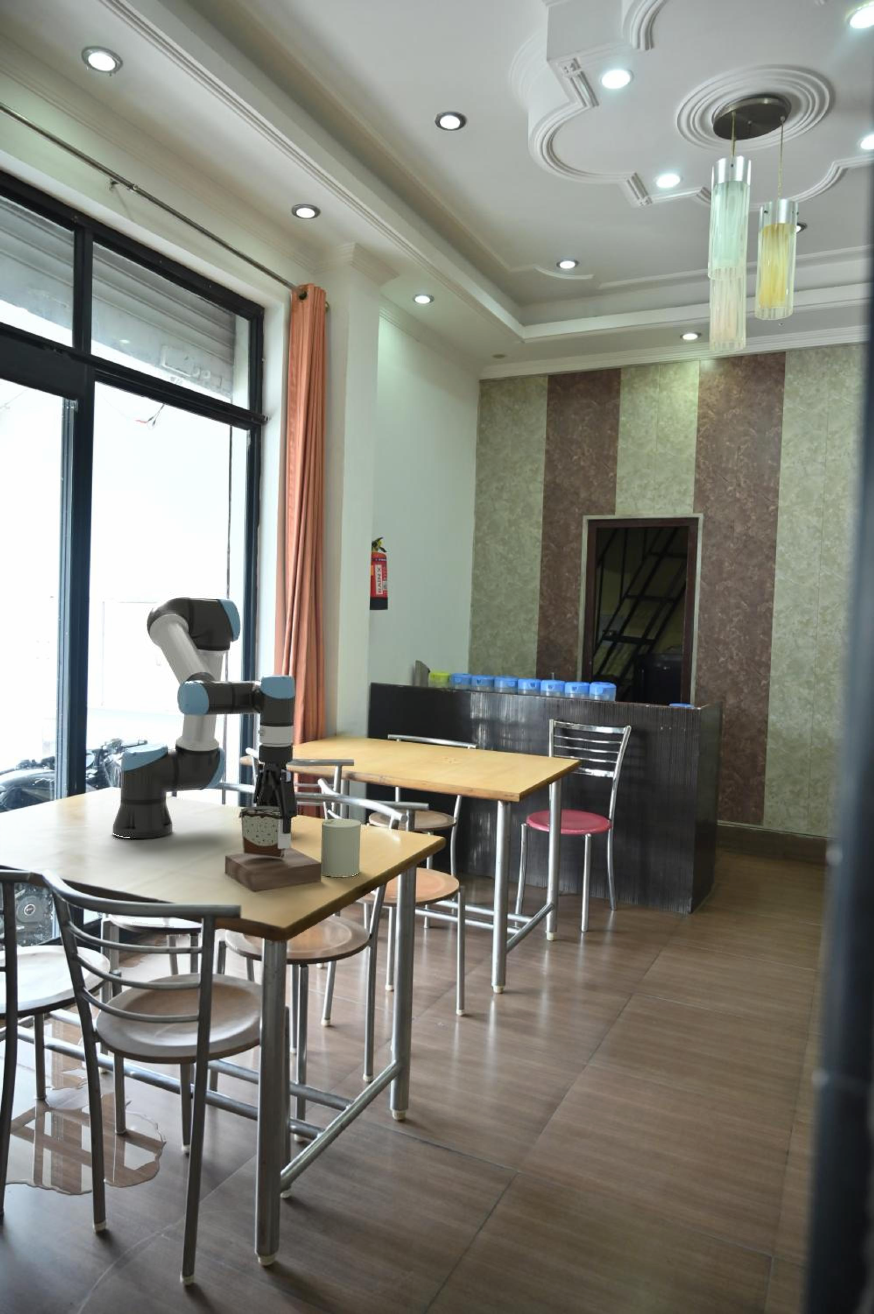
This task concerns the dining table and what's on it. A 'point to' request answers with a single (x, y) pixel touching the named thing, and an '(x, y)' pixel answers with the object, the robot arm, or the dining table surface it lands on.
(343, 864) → the can
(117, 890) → the dining table surface
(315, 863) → the walnut stand
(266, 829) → the food container
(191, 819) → the dining table surface
